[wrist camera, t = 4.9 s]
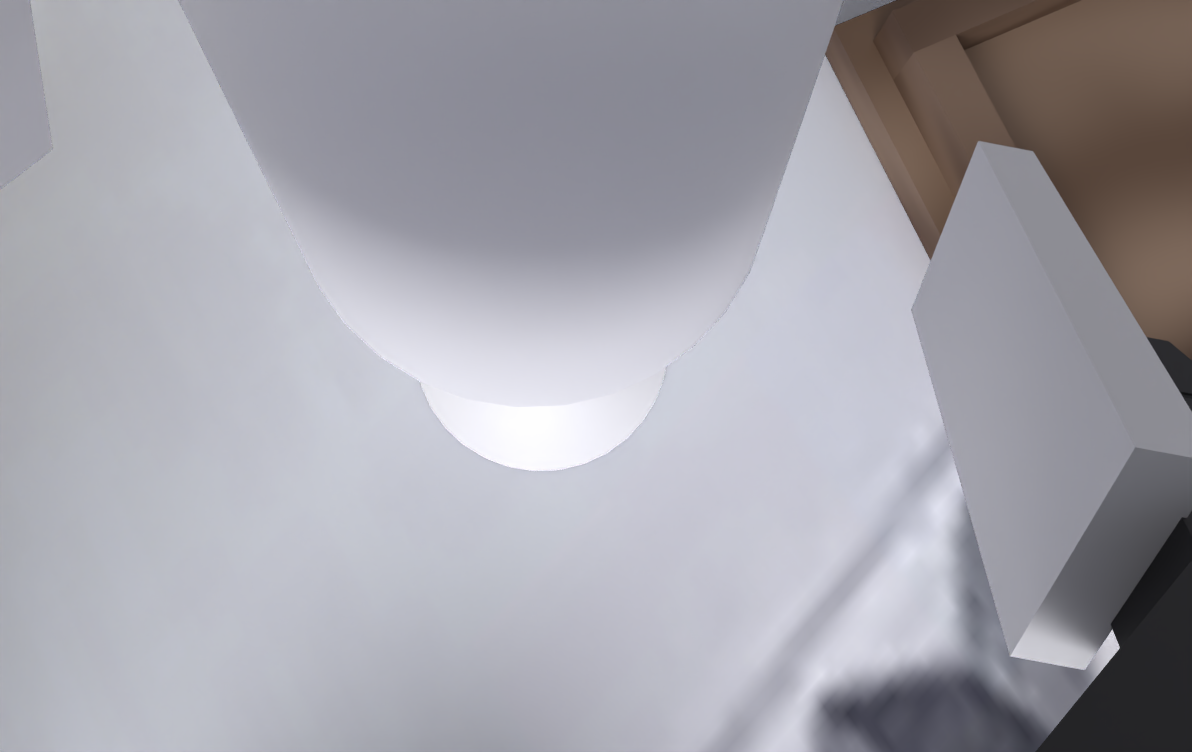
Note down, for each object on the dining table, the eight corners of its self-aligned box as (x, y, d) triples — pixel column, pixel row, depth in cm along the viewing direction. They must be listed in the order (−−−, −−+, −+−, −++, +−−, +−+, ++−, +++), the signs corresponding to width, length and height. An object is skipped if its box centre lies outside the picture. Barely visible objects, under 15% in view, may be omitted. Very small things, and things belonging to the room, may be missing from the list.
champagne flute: (675, 229, 28) (1307, -1407, 5) (663, 479, 27) (1409, 47, 3) (424, 212, 28) (-278, -1586, 4) (402, 464, 27) (-687, -109, 3)
